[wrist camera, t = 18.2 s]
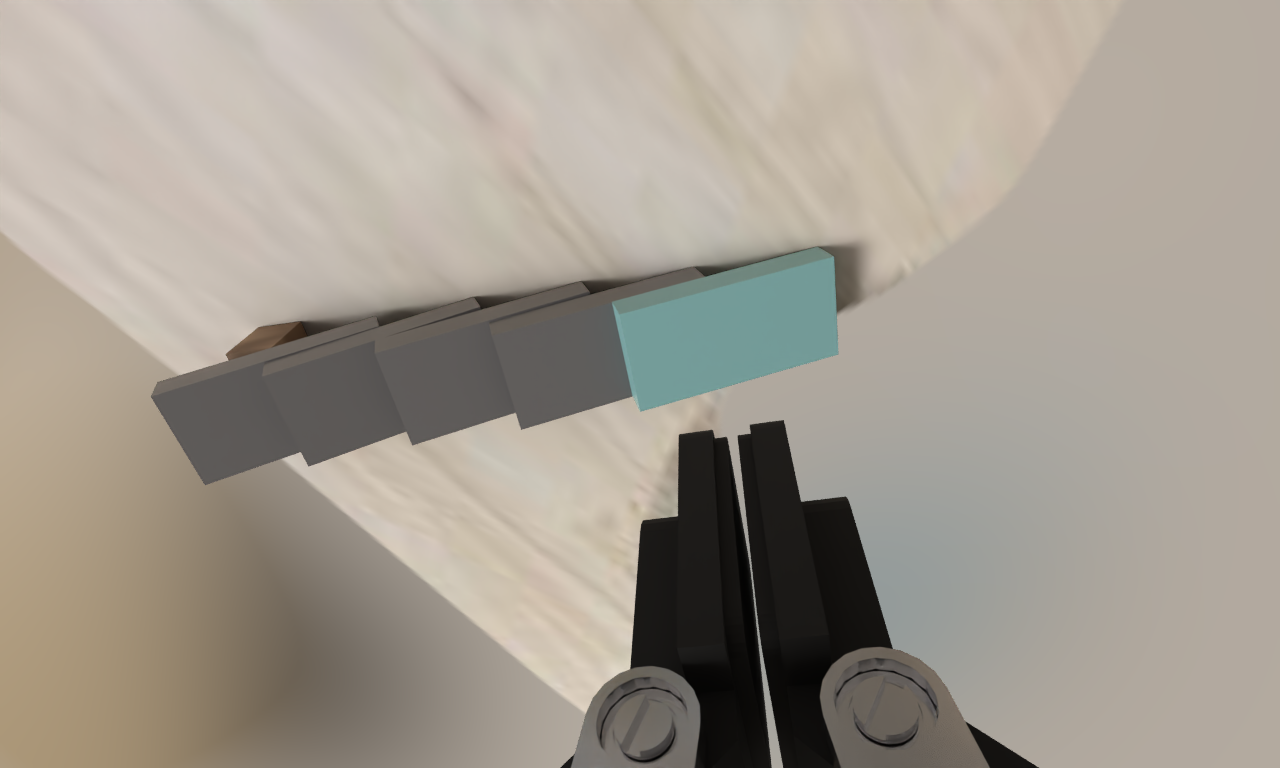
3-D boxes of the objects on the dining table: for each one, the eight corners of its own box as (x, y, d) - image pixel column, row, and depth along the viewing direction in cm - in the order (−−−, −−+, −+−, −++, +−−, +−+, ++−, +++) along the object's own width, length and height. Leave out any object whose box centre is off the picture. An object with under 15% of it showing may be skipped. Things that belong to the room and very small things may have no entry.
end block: (300, 321, 36) (270, 348, 33) (337, 402, 38) (312, 433, 36) (258, 327, 36) (225, 354, 33) (297, 407, 38) (270, 438, 36)
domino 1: (378, 326, 33) (150, 396, 30) (412, 413, 36) (204, 485, 33) (375, 315, 34) (157, 382, 32) (409, 400, 37) (208, 468, 34)
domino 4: (705, 276, 32) (491, 335, 30) (718, 370, 34) (521, 429, 33) (693, 266, 33) (488, 322, 31) (706, 357, 35) (517, 413, 34)
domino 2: (480, 306, 33) (262, 376, 30) (508, 394, 36) (308, 466, 33) (473, 296, 34) (264, 363, 32) (501, 382, 37) (308, 450, 34)
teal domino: (822, 341, 35) (632, 395, 33) (817, 246, 32) (611, 301, 31) (838, 354, 33) (640, 411, 32) (834, 256, 31) (619, 314, 30)
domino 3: (589, 291, 32) (374, 353, 30) (609, 382, 35) (412, 445, 33) (581, 281, 34) (374, 339, 32) (601, 369, 36) (411, 429, 34)
